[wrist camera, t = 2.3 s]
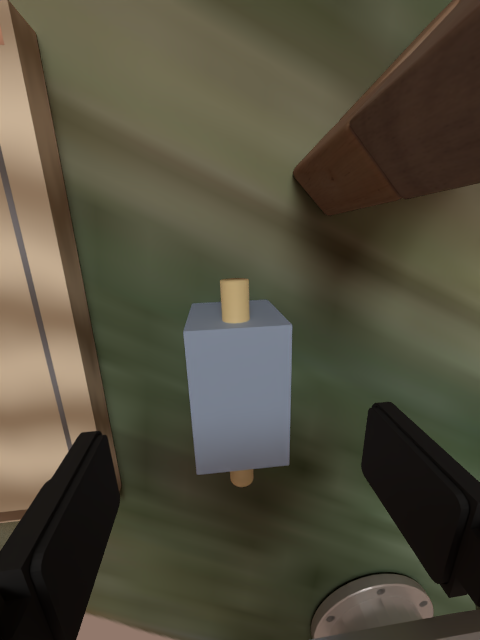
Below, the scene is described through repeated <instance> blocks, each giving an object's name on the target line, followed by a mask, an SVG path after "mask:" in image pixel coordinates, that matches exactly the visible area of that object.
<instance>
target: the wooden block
mask: <svg viewBox="0 0 480 640" xmlns="http://www.w3.org/2000/svg"><path fill="white" fill-rule="evenodd" d="M293 174H294V177H295V178H296V180H297V181H298V182H299V183H300V184H301V186H302V187H303V188H304V189H305V191H306V192H307V193H308V194H309V195H310V197H311V198H312V199H313V200H314V201H315V203H316V204H317V205H318V206H319V207H320V209H321V210H322V211H323V212H324V213H325V214H326V215H328V216H330V215H335V214H339V213H344V212H348V211H353V210H357V209H361V208H366V207H370V206H375V205H379V204H384V203H388V202H392V201H397V200H399V199H401V198H404V199H409V198H414V197H418V196H423V195H427V194H432V193H436V192H441V191H445V190H450V189H454V188H459V187H464V186H468V185H473V184H477V183H480V0H453V1H452V2H451V3H450V4H449V5H448V6H447V7H446V8H445V9H444V10H443V11H442V12H441V13H440V14H439V15H438V16H437V17H436V18H435V19H434V20H433V21H432V22H431V23H430V24H429V25H428V26H427V27H426V28H425V29H424V30H423V31H422V32H421V33H420V34H419V35H418V36H417V38H416V39H415V40H414V41H413V42H412V43H411V44H410V45H409V46H408V47H407V48H406V49H405V50H404V51H403V53H402V54H401V55H400V56H399V57H398V58H397V59H396V60H395V61H394V62H393V63H392V64H391V65H390V66H389V68H388V69H387V70H386V71H385V72H384V73H383V74H382V75H381V76H380V77H379V78H378V79H377V80H376V81H375V83H374V84H373V85H372V86H371V87H370V88H369V89H368V90H367V91H366V92H365V93H364V94H363V95H362V96H361V98H360V99H359V100H358V101H357V102H356V103H355V104H354V105H353V106H352V107H351V108H350V109H349V110H348V111H347V113H346V114H345V115H344V116H343V117H342V118H341V119H340V121H339V122H338V123H337V124H336V125H335V126H334V127H333V128H332V129H331V130H330V131H329V132H328V133H327V134H326V135H325V136H324V137H323V138H322V139H321V140H320V141H319V143H318V144H317V145H316V146H315V147H314V148H313V149H312V150H311V151H310V152H309V153H308V154H307V155H306V156H305V158H304V159H303V160H302V161H301V162H300V163H299V164H298V165H297V166H296V167H295V169H294V171H293Z"/></svg>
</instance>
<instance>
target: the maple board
mask: <svg viewBox="0 0 480 640" xmlns="http://www.w3.org/2000/svg"><path fill="white" fill-rule="evenodd" d="M91 431H101V433H102V435H107V437H108V441H109V446H110V451H111V456H112V460H113V465H114V470H115V474H116V479H117V484H118V489H119V491H120V489H121V486H122V485H121V480H120V474H119V469H118V464H117V458H116V453H115V448H114V443H113V437H112V432H111V427H110V421H109V416H108V411H107V406H106V400H105V395H104V390H103V385H102V379H101V374H100V369H99V363H98V358H97V353H96V348H95V342H94V337H93V332H92V327H91V321H90V316H89V311H88V305H87V300H86V295H85V290H84V284H83V279H82V274H81V269H80V263H79V258H78V253H77V247H76V242H75V237H74V232H73V226H72V221H71V216H70V211H69V205H68V200H67V195H66V189H65V184H64V179H63V174H62V168H61V163H60V158H59V152H58V147H57V142H56V137H55V131H54V126H53V121H52V116H51V110H50V105H49V100H48V94H47V89H46V84H45V79H44V73H43V68H42V63H41V58H40V52H39V47H38V42H37V36H36V33H35V31H34V30H33V29H32V28H31V27H30V25H29V24H28V23H27V22H26V21H25V19H24V18H23V17H22V16H21V15H20V13H19V12H18V11H17V10H16V9H15V7H14V6H13V5H12V4H11V3H10V1H9V0H0V523H4V522H12V521H20V520H21V519H22V517H23V516H24V514H25V512H26V511H27V509H28V508H29V506H30V505H31V503H32V502H33V500H34V499H35V497H36V496H37V494H38V492H39V491H40V489H41V488H42V486H43V485H44V484H45V483H46V482H47V481H48V480H50V479H51V478H52V476H53V475H54V473H55V472H56V470H57V469H58V467H59V465H60V464H61V462H62V461H63V459H64V458H65V456H66V454H67V453H68V451H69V450H70V448H71V447H72V445H73V443H74V442H75V440H76V439H77V437H78V436H79V434H80V433H82V432H91Z"/></svg>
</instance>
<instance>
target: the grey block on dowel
mask: <svg viewBox="0 0 480 640" xmlns="http://www.w3.org/2000/svg"><path fill="white" fill-rule="evenodd" d="M220 288H221V302H213V303H195V304H192V306H191V309H190V312H189V315H188V318H187V322H186V325H185V328H184V331H183V333H184V343H185V354H186V365H187V375H188V386H189V397H190V407H191V418H192V429H193V439H194V450H195V461H196V471H197V475H202V474H211V473H221V472H230V479H231V482H232V483H233V484H234V485H235V486H238V487H245V486H248V485H250V484H251V483H252V481H253V469H258V468H267V467H277V466H286V465H289V456H290V406H291V357H292V324H291V323H290V322H289V321H288V320H287V319H286V318H285V317H284V316H283V315H282V314H281V313H280V312H279V311H278V310H277V309H276V308H275V307H274V306H273V305H272V304H271V303H270V302H269V301H268V300H251V301H249V279H245V278H230V279H223V280H220Z"/></svg>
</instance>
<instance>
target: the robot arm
mask: <svg viewBox="0 0 480 640" xmlns="http://www.w3.org/2000/svg"><path fill="white" fill-rule="evenodd" d="M361 467H362V472H363V474H364V476H365V478H366V479H367V481H368V482H369V484H370V485H371V487H372V489H373V490H374V492H375V493H376V495H377V496H378V498H379V499H380V501H381V502H382V504H383V505H384V507H385V508H386V510H387V512H388V513H389V515H390V516H391V518H392V519H393V521H394V522H395V524H396V525H397V527H398V528H399V530H400V531H401V533H402V534H403V536H404V538H405V539H406V541H407V542H408V544H409V545H410V547H411V548H412V550H413V551H414V553H415V554H416V556H417V557H418V559H419V561H420V562H421V564H422V565H423V567H424V568H425V570H426V571H427V573H428V574H429V576H430V577H431V579H432V580H433V581H434V582H435V583H437V584H440V585H441V587H442V588H443V590H444V591H445V593H446V594H447V596H448V597H449V598H451V597H457V596H462V595H467V593H468V595H469V596H470V597H471V599H472V600H473V601H474V603H475V605H476V610H473V611H466V612H460V613H453V614H448V615H442V616H436V617H433V605H432V602H431V600H430V599H429V597H428V595H427V594H426V592H425V590H424V589H423V588H422V586H421V585H420V584H419V583H417V582H416V581H415V580H413V579H411V578H408V577H406V576H403V575H398V574H375V575H370V576H366V577H362V578H359V579H357V580H354V581H352V582H349V583H347V584H346V585H344V586H342V587H340V588H339V589H337V590H336V591H334V592H333V593H332V594H330V595H329V596H328V597H327V598H326V599H325V600H324V601H323V602H322V603H321V605H320V606H319V608H318V609H317V610H316V613H315V615H314V617H313V619H312V624H311V636H312V639H310V640H480V482H479V481H478V480H476V479H475V478H474V477H473V476H472V475H471V474H470V473H469V472H468V471H467V470H465V469H464V468H463V467H462V466H461V465H460V464H459V463H458V462H457V461H456V460H454V459H453V458H452V457H451V456H450V455H449V454H448V453H447V452H446V451H445V450H443V449H442V448H441V447H440V446H439V445H438V444H437V443H436V442H435V441H434V440H432V439H431V438H430V437H429V436H428V435H427V434H426V433H425V432H424V431H423V430H421V429H420V428H419V427H418V426H417V425H416V424H415V423H414V422H413V421H412V420H410V419H409V418H408V417H407V416H406V415H405V414H404V413H403V412H402V411H401V410H399V409H398V408H397V407H396V406H395V405H394V404H393V403H391V402H383V403H375V404H373V405H372V408H370V409H369V411H368V417H367V425H366V433H365V440H364V448H363V456H362V463H361ZM119 503H120V493H119V489H118V484H117V479H116V474H115V470H114V465H113V460H112V456H111V451H110V446H109V441H108V437H107V435H102V433H101V431H91V432H82V433H80V434H79V436H78V437H77V439H76V440H75V442H74V443H73V445H72V447H71V448H70V450H69V451H68V453H67V454H66V456H65V458H64V459H63V461H62V462H61V464H60V465H59V467H58V469H57V470H56V472H55V473H54V475H53V476H52V478H51V479H50V480H48V481H47V482H46V483H45V484H44V485H43V486H42V488H41V489H40V491H39V492H38V494H37V496H36V497H35V499H34V500H33V502H32V503H31V505H30V506H29V508H28V509H27V511H26V512H25V514H24V516H23V517H22V519H21V520H20V522H19V523H18V525H17V526H16V528H15V529H14V531H13V532H12V534H11V536H10V537H9V539H8V540H7V542H6V543H5V545H4V546H3V548H2V549H1V551H0V640H76V638H77V635H78V632H79V629H80V626H81V623H82V619H83V617H84V614H85V611H86V607H87V604H88V601H89V598H90V595H91V592H92V589H93V586H94V583H95V579H96V576H97V573H98V570H99V567H100V564H101V561H102V558H103V555H104V551H105V548H106V545H107V542H108V539H109V536H110V533H111V530H112V527H113V523H114V520H115V517H116V514H117V511H118V508H119Z"/></svg>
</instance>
